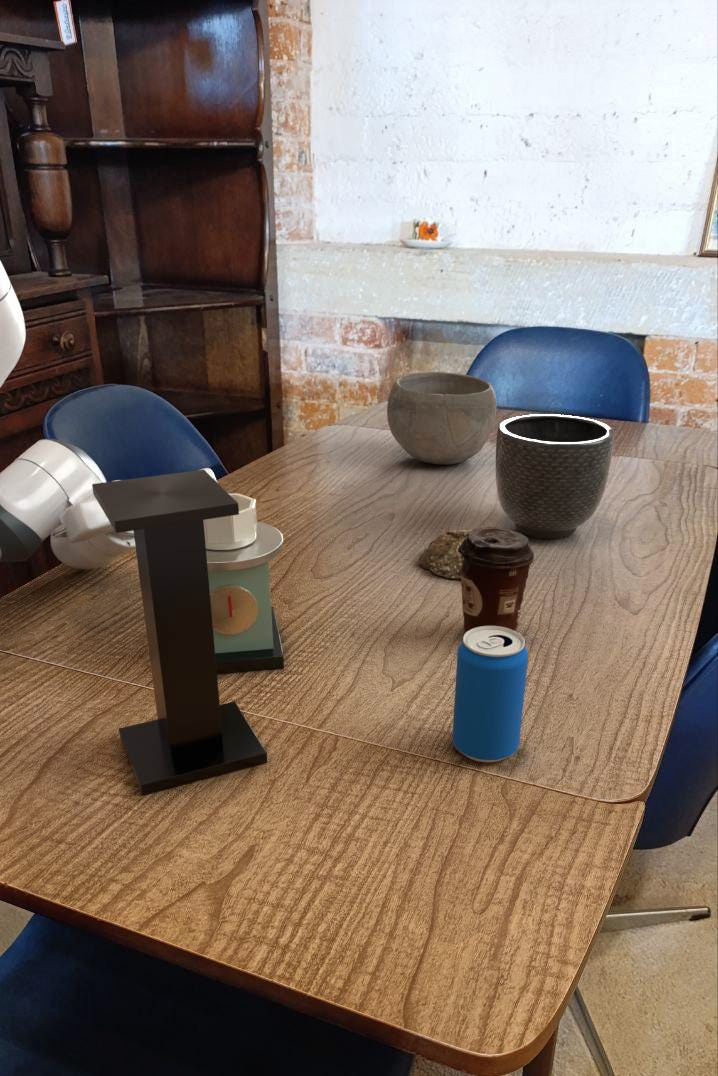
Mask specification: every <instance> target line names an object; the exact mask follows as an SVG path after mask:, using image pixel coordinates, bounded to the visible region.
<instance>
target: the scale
mask: <svg viewBox="0 0 718 1076" xmlns="http://www.w3.org/2000/svg"><path fill="white" fill-rule="evenodd" d="M256 535H257V537H256V539H255V541H254V542H252V543H251V544H249V545H247V546H244V547H241V548H236V549H230V550H212V549H206V555H207V566H208V577H209V589H210V600H211V612H212V623H213V634H214V646H215V657H216V668H217V675H220V674H221V675H222V674H233V673H245V672H256V671H257V672H259V671H269V670H281V669H285V659H284V652H283V647H282V642H281V637H280V636H281V635H280V631H279V625H278V621H277V615H276V611H275V607H274V606H272V601H271V599H272V598H271V581H270V580H271V579H270V578H271V577H270V564H269V563H270V561H272V560H274V559H275V558H277V557H278V556H279V555H280V554H281V553H282V551H283V549H284V536H283V534H282V532H281V531H280V530H279V529H277V527H274V526H273V525H270V524H268V523H265V522H262V521H257V529H256Z"/></svg>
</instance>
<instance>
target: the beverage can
mask: <svg viewBox="0 0 718 1076" xmlns="http://www.w3.org/2000/svg"><path fill="white" fill-rule="evenodd" d="M525 644H526V641H525V638H524V637H523V636H522V634H521V633H519V632H517V630H515V631H514V630H511V629H508V628H504V627H499V626H482V627H477V628H474V629H471V630H469V631H468V632H466V633H465V635H463V638H462V641H461V642H460V643H459V645H458V647H457V653H456V654H457V656H456V670H455V671H456V673H455V687H454V704H453V719H452V720H453V721H452V737H451V739H452V744H453V746H454V747H455V749H456V750H457V751H458V752H459V753H461V754H462V755H464V756H465V757H467V758H468V759H470V760H473V761H476V762H478V763H479V762H480V763H496V762H500V761H503V760H505V759H508V758H509V757H512V756H513V755H514V754H515V753H516V752H517V750H518V749H519V746H520V740H521V730H522V722H523V721H522V719H523V710H524V701H525V691H526V683H527V682H526V681H527V672H528V662H529V652H528V649H527V647H526V645H525Z"/></svg>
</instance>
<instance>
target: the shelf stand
mask: <svg viewBox="0 0 718 1076" xmlns="http://www.w3.org/2000/svg"><path fill="white" fill-rule="evenodd" d="M119 480H120V481H116V480H111V481H107V482H105V483H97V484H92V487H93V494H94V496H95V498H96V499H97V501H98V503H99V505H100V506H101V508H102V510H103V511H104V513H105V515H106V516H107V518H108V520H109V522H110V523H111V525H112V527H113V528H114V530H115V532H116V533H120V532H127V531H134V538H135V546H136V549H135V554H136V560H137V561H136V562H137V568H138V576H139V583H140V591H141V599H142V607H143V615H144V622H145V631H146V639H147V646H148V654H149V662H150V669H151V677H152V685H153V693H154V700H155V708H156V716H157V719H153V720H148V721H145V722H140V723H137V724H136V723H135V724H132V725H128V726H127V725H126V726H123V727H119V728H118V733H119V739H120V742H121V745H122V747H123V749H124V752H125V755H126V758H127V760H128V762H129V765H130V768H131V770H132V773H133V776H134V778H135V781H136V783H137V787H138V789H139V791H140V794H141V796H145V795H150V794H154V793H157V792H162V791H165V790H170V789H172V788H176V787H180V786H183V785H187V784H193V783H195V782H199V781H203V780H207V779H211V778H214V777H219V776H222V775H226V774H229V773H234V772H237V771H241V770H245V769H249V768H252V767H256V766H261V765H264V764H267V763H268V753H267V751H266V749H265V748H264V745H263V743H262V742H261V741H260V739H259V738H258V736H257V735H256V733H255V732H254V730H253V728H252V726H251V725H250V723H249V722H248V720H247V718H246V717H245V715H244V714H243V713H242V710H241V709H240V707H239V706H238V704H237V703H236V701H231V702H226V703H223V704H222V703H221V704H220V693H219V692H220V691H219V679H218V674H217V668H216V657H215V646H214V634H213V623H212V612H211V600H210V589H209V577H208V566H207V555H206V543H205V532H204V521H203V520H206V519H213V518H219V517H226V516H232V515H239V507H238V503H237V502H236V501H235V500H234V499H233V498H232V497H231V496H230V495H229V494H230V493H229V492H227V490H226V489H225V488H223V487H222V485H221V484H220V483H219V482H218V481H217V482H216V481H215V480H214V479H213V478H212V477H211V476H210V475H209V474H208V473H207V472H206V471H205V470H200V469H198V470H191V471H183V472H175V473H168V474H159V475H152V476H144V477H137V478H127V479H119Z"/></svg>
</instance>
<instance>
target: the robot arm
mask: <svg viewBox="0 0 718 1076" xmlns="http://www.w3.org/2000/svg"><path fill="white" fill-rule="evenodd" d="M7 273H8V272H7V271H6V269H5V267H4V265H3V263H2V261H1V260H0V388H1V387H2V386H3V384H4V383H5V381H6V380H7V378H8V377H9V375H10V374H11V373H12V371H13V370H14V369H15V367H16V365H17V364H18V362H19V360H20V358H21V355H22V353H23V350H24V347H25V344H26V337H27V332H26V331H27V329H26V323H25V322H26V321H25V318H24V313H23V309H22V307H21V304H20V301H19V298H18V296H17V294H16V291H15V290H14V287H13V285H12V282H11V280H10V277H9V276H8V274H7ZM199 470H205V471H206V472H207V473H208V474H209V475H210V476H211V477H212V478H213V479H214V480H215V481H216V482H217V483H218V480H217V477H216V475H215V473H214V472H213V470H212V469H211V468H210V467H204V468H200V469H199ZM120 480H121V479H117V480H115V481H120ZM105 482H108V481H107V480H106V477H105V475H104V474H103V472H102V470H101V468H99V466H98V464H96V461H94V460H93V459H92V458H91V457H90V456H89V454H87V453H86V452H85V451H84V450H83V449H82V448H80V447H78V446H76V445H74V444H72V443H69V442H66V441H63V440H61V439H56V438H41V439H39V440H37V441H36V442H35V443H34V444H32V445H31V446H30V447H29V448H27V449H26V450H25V451H24V452H22V454H20V455H19V456H18V457H17V458H15V459H14V461H13V462H12V463H10V465H8V466H7V467H5V469H3V470H2V471H1V472H0V563H19V562H20V563H21V562H25V561H28V560H29V559H30V557H32V556H33V554H34V553H35V552H36V551H37V550H38V549H39V548H40V546H41V545H42V544H43V542H44V541H45V540H46V539H47V538H48V537H49V536H50V547H51V550H52V552H53V554H54V556H55V557H56V558H57V560H59V562H61V563H62V564H64V565H66V566H68V567H70V568H74V569H77V570H93V569H96V568H97V569H98V568H100V567H103V566H105V565H108V564H110V563H112V562H115V561H117V560H118V559H119V558H121V556H125V555H127V554H129V553H131V552H134V550H135V551H136V546H135V538H134V531H127V532H120V533H116V532H115V530H114V528H113V527H112V525H111V523H110V522H109V520H108V518H107V516H106V515H105V513H104V511H103V510H102V508H101V506H100V505H99V503H98V501H97V499H96V498H95V496H94V494H93V487H92V484H97V483H105ZM65 563H66V564H65Z"/></svg>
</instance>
